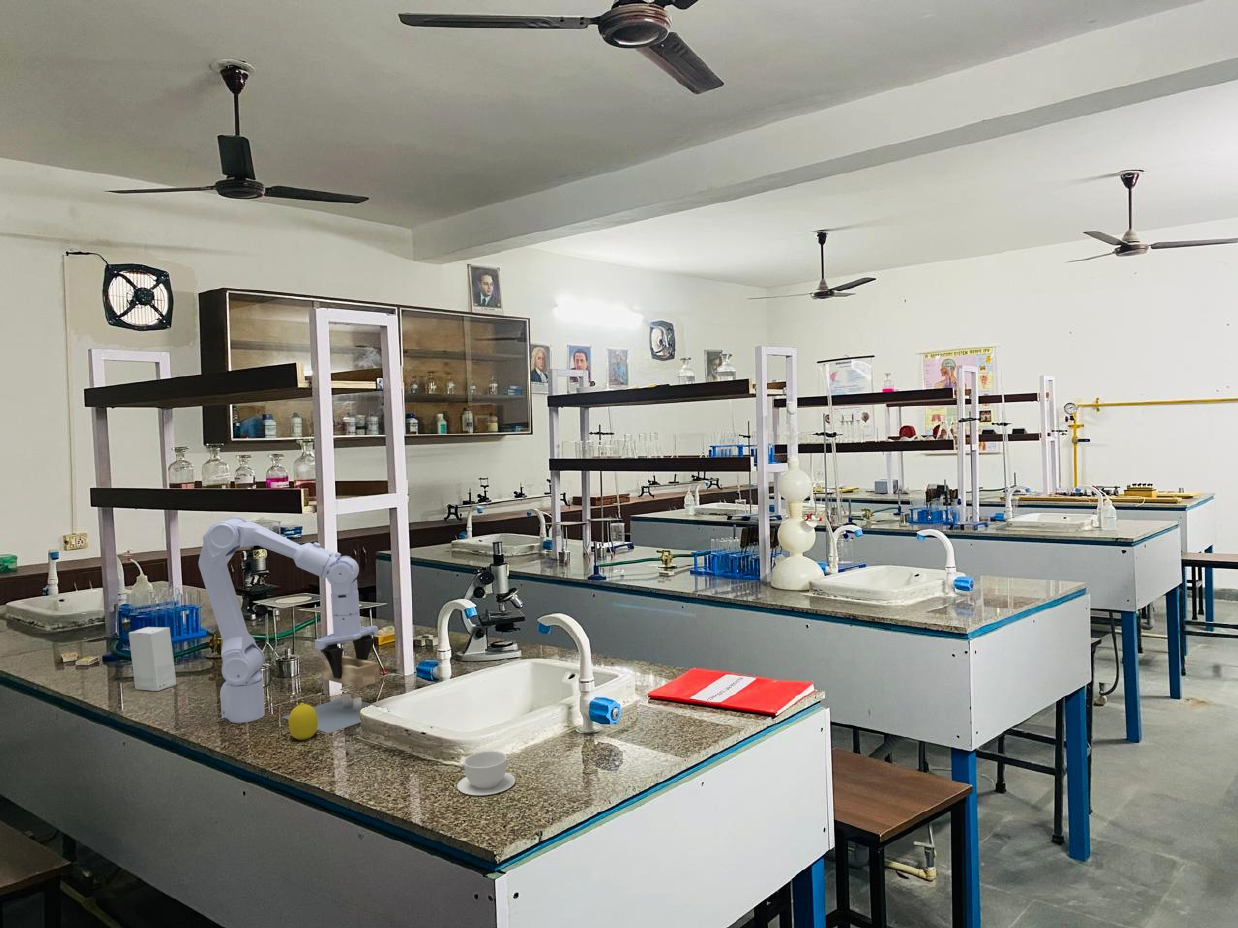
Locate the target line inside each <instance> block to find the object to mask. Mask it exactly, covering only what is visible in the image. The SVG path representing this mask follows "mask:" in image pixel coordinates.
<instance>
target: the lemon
mask: <svg viewBox="0 0 1238 928" xmlns="http://www.w3.org/2000/svg"><path fill="white" fill-rule="evenodd" d="M313 707H314V706H311V705H310V704H306V703H304V702H301V703H299V704H298V705H297V706H295V707H294V708H293V709H292V710H291V711H290V714H289V715H290V716H289V720H288V730H289V733H290V735H291V736H292V737H293V738H294V739H296V740H299V741H304V740H308V739H310V738H312V737H314V735H315V733H316V732H317V727H318V717H317V714H316V711H315V710H314V708H313Z"/></svg>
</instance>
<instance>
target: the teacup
mask: <svg viewBox="0 0 1238 928" xmlns="http://www.w3.org/2000/svg"><path fill="white" fill-rule="evenodd" d="M507 761H508V755H506V754H505V753H503V752H501V751H495V750H486V751H477V752H475V753H472V754H469V755H468V756H466V757H465V758H464V759H463V761H462V762H463V766H464V773H465V777H463V778H462V779H461V780H459V781H458V783H457V785H456V788H457V790H458V791H460V793H463V794H465V795H468V796H469V795H470V796H489V795H494V794H499V793H501V792H504V791H506V790H509V789H510V788H512V787H513V786H514V785H515V783H516V781H517V780H516V777H515V776H514V775H513V774H512V773H510V772H507V763H508V762H507Z"/></svg>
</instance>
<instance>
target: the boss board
mask: <svg viewBox="0 0 1238 928" xmlns="http://www.w3.org/2000/svg"><path fill="white" fill-rule="evenodd" d="M370 705H374V704H373V703H369V702H366V701H362V696H357V697H356V696H355V697H352V694H351V693H350V694H349V693H346V694H342V696H341V698H338V699H334V700H332V701H331V700H330V701H328V702H326V703H322V704H319V705H316V706H312V707H313V708H314V710H315V711H316V714H317V717H318V727H317V730H318V731H320V732H322V733H326V734H331V733H335V732H336V731H340V730H343V729H345V728H348V727H351V726H354V725H357V724H360V723H362V722H361V720H360V710H361V709H362V708H365V707H368V706H370ZM289 716H290V714H288V715H284V716H281V718H283V719H285V720H287V721H289ZM317 730H316V731H317Z"/></svg>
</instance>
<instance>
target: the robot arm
mask: <svg viewBox="0 0 1238 928" xmlns="http://www.w3.org/2000/svg"><path fill="white" fill-rule="evenodd" d="M202 540H203V544H202V547H201V550H200V554H199V559H198V568H199V571H200V573H201V578H202V581H203V583H204V587H205V590H206V594H207V596H208V599H209V603H210V606H211V609H212V612H213V615H214V618H215V621H216V625H217V628H218V632H219V634H220V637H221V641H222V646H221V647H222V648H221V654H220V656H221V660H222V665H221V674H222V677H223V678H224V680H225V681H224V682H223V684H222V686H221V688H220V692H219V696H220V710H221V712H220V713H221V718H219V720H221V719H227V720H228V721H229V722H230V723H235V724H236V723H237V724H240V723H248V722H254V721H257V720H259V719H261V718H264V716H265V715H266V709H265V697H264V696H265V695H264V681H263V674H262V673H261V672H262V671H261V669H262V668H263V666H264V664H265V661H266V660H265V658H266V657H265V654H264V652H263V650H262V649H261V648H260V647H258V645H257V643H256V640H255V638H254V637H253V636H252V634H250V633H249V631H248V629H247V625H246V622H245V618H244V615H243V611H242V609H241V604H240V602H239V600H238V596H237V593H236V591H235V590H236V589H235V587H234V584H233V581H232V577H231V574H230V571H229V567H228V563H230V562H229V561H230V560H231V559H232V557H233V556H234V554H235V552H236V551H238V550H239V549H240V548H247V547H254V546H259V547H261V548H264V549H267V550H269V551H273V552H274V553H278V554H280V555H283V556H286V557H288V558H291V559H293V561H294V563H295V565H296V567H297V568H300V569H302V570H304V571H307V572H308V573H311V574H313V575H316V576H318V577H320V578H323V579H326V580H327V581H328V583H329V584H330V589H331V590H330V591H331V593H330V598H331V599H330V600H331V601H330V602H331V617H332V631H333V632H332V633H331V634H328V635H326V636H323V637H320V638H316V639H314V647H315V650H320V651H321V653H322V654H323V655H324V656H325V659H327V660H328V662H329V665H330V667H331V670H332V673H333V676H334V678H337V679H340V678H342V655H344V654H343V652H344V648H342V647H340V646H339V645H340V644H346V643H349V642H352V644H353V648H354V651H355V658H358V659H363V660H367V661H369V659H368V658H369V657H370V653H371V650H372V648H373V646H374V644H375V638H374V636H378V635H379V627H378V626H377V625H369V626H364V627H362V626H361V616H360V615H361V614H360V599H359V597H360V596H359V590H358V579H357V577H358V575H359V573H360V567H359V564H358V562H357V561H356V560H355V559H354V558H352V557H351V556H349V555H343V556H342V554H341V553H340V552H338V551H337V552H332V551H330V550H328V549H326V548H323V547H321V545H322V544H321V543H319V542H316V541H315V542H313V543H312V542H305V543H304V544H299V543H298V542H295V541H293V540H291V539H289V538H287V537H285V536H283V535H281V534H278V533H276V532H274V531H272V530H271V529H268V528H267V527H264V526H262V525H260V524H258V523H256V522H253V521H250V520H245V519H244V518H241V517H238V516H236V517H231V518H228V519H226V520H223V521H217V522H215V523H213V524H212V525H211V526H210V527H209V529H208V530H207V531H206V532H205V534H204V535H203V536H202ZM372 636H373V637H372Z"/></svg>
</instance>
